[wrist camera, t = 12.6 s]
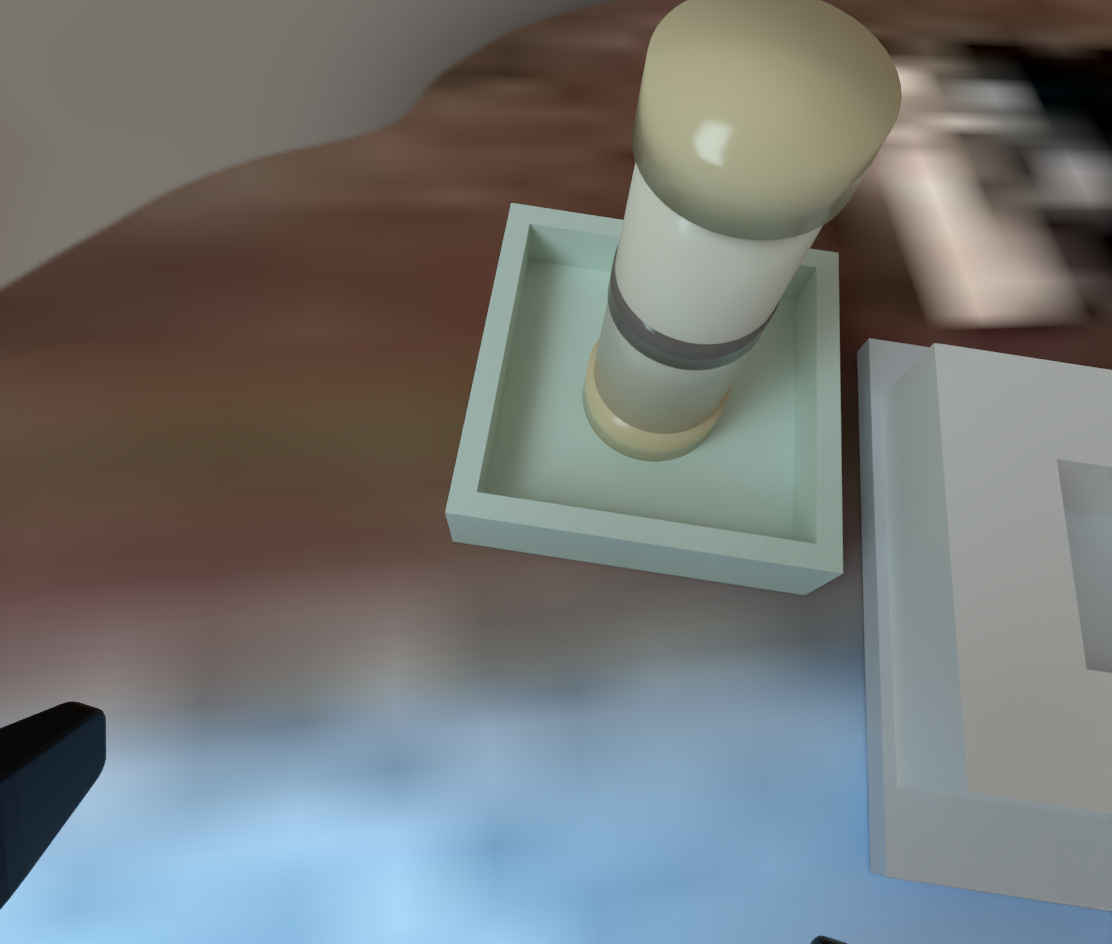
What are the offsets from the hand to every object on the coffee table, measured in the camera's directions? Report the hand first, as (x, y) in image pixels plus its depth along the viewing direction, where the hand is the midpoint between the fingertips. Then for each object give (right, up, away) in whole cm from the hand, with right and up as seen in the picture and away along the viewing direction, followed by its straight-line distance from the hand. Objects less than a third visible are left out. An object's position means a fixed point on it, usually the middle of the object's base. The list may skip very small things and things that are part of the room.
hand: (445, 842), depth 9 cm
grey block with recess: (+19, 0, +16) cm, 24 cm away
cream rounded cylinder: (+5, +7, +17) cm, 19 cm away
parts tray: (+5, +7, +18) cm, 19 cm away
